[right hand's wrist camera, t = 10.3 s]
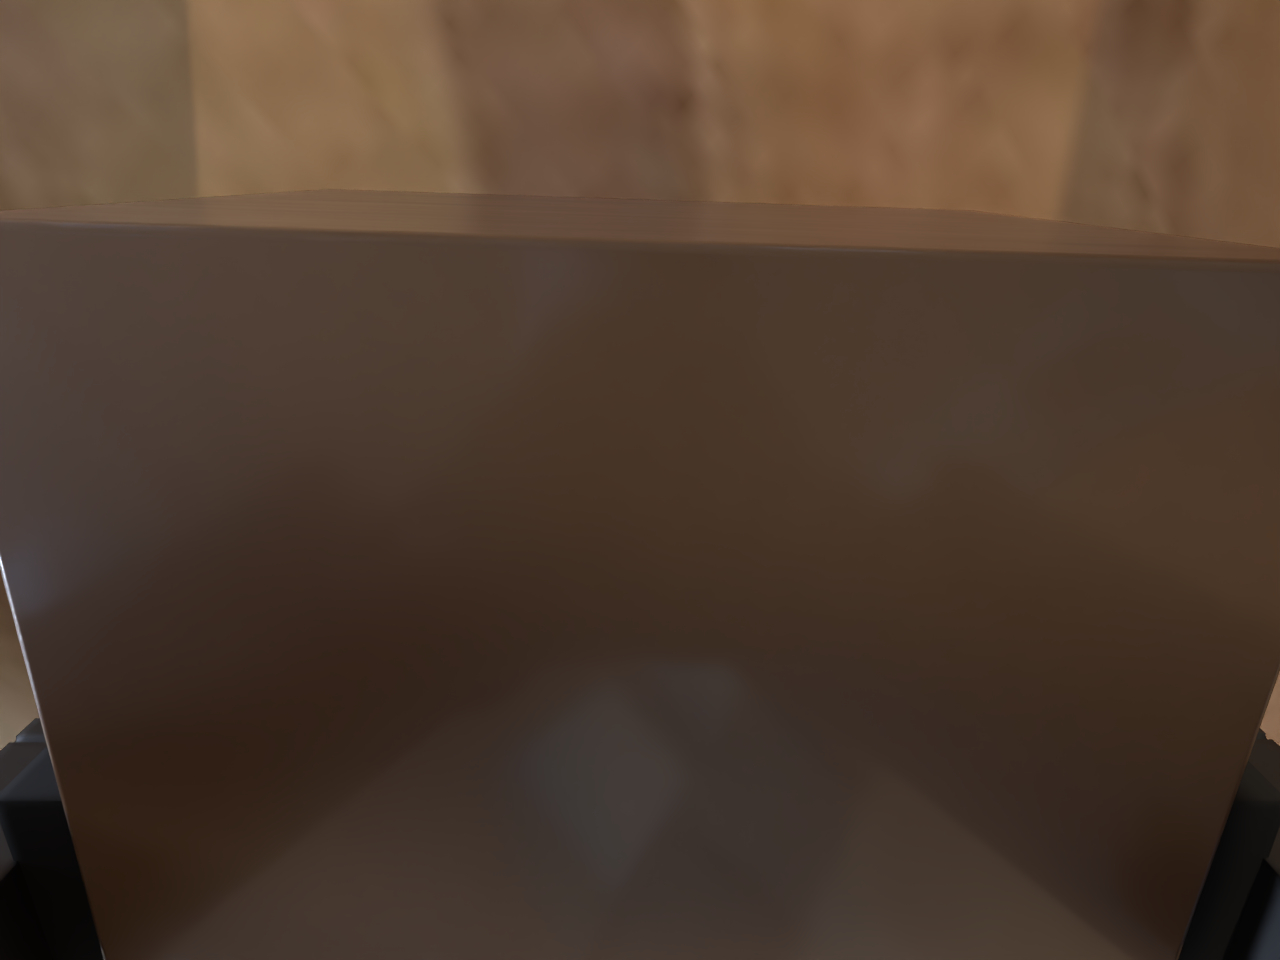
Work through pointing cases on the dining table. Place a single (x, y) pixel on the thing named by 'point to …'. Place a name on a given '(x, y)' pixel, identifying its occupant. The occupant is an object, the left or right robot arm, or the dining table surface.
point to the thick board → (637, 573)
